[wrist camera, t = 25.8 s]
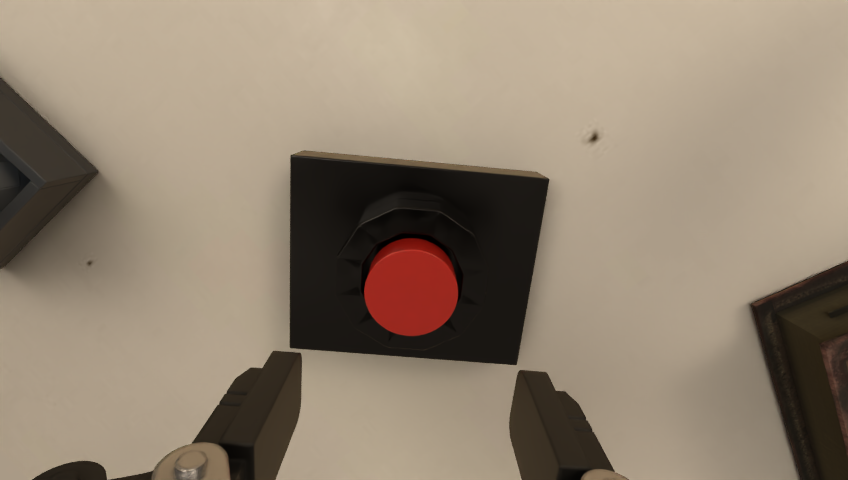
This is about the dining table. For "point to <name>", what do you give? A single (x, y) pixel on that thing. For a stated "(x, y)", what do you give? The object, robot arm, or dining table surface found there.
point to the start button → (411, 287)
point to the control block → (411, 218)
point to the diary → (811, 368)
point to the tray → (35, 172)
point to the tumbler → (10, 182)
